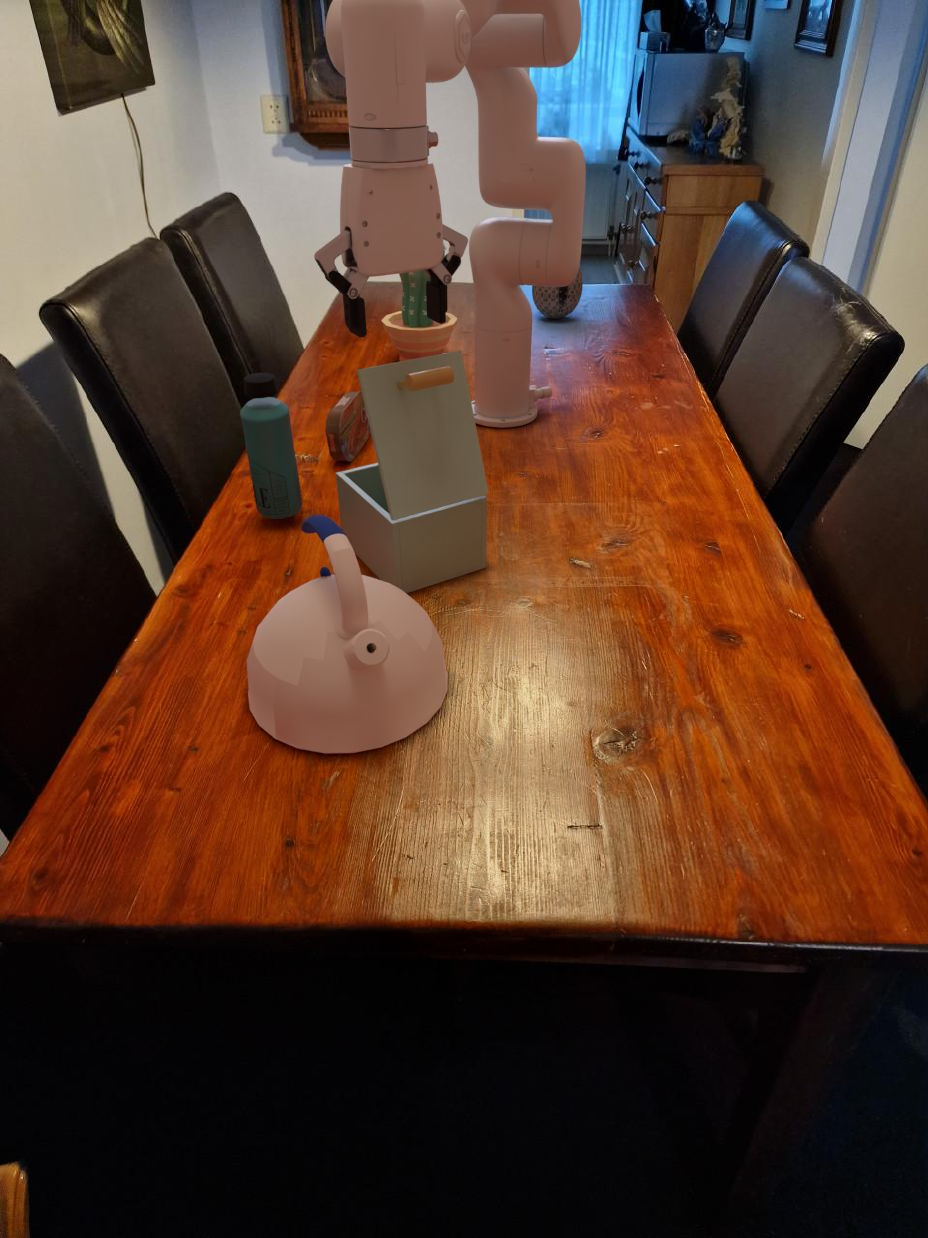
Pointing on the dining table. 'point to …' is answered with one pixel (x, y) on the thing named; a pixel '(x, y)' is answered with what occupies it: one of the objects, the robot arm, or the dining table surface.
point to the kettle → (344, 659)
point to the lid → (423, 433)
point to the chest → (410, 534)
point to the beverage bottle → (270, 449)
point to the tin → (347, 427)
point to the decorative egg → (558, 298)
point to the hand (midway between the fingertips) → (397, 327)
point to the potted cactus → (417, 321)
